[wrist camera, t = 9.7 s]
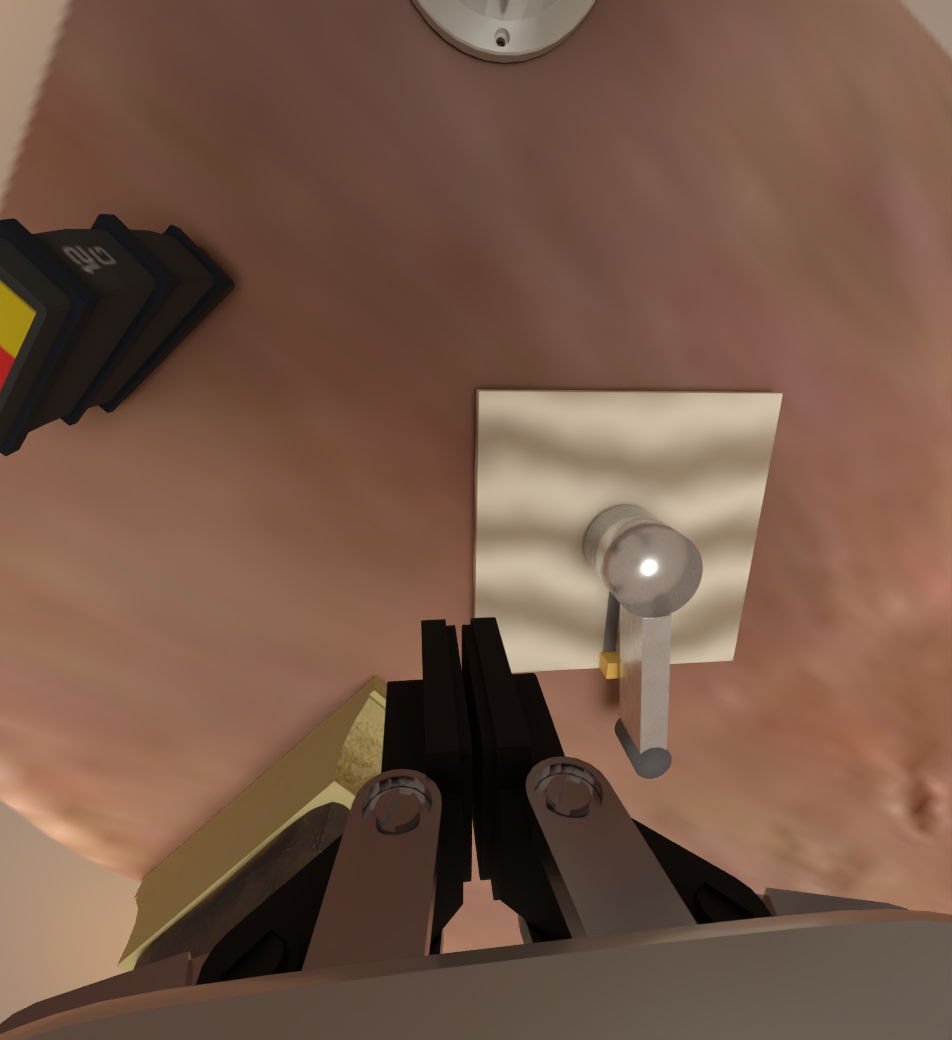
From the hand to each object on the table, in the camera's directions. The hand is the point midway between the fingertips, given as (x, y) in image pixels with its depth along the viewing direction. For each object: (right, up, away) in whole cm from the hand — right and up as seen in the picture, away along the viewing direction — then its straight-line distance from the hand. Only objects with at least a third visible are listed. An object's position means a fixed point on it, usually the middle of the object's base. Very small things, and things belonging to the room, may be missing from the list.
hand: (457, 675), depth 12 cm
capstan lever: (+12, -5, +30) cm, 33 cm away
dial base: (+11, +2, +30) cm, 32 cm away
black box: (-20, +15, +22) cm, 34 cm away
